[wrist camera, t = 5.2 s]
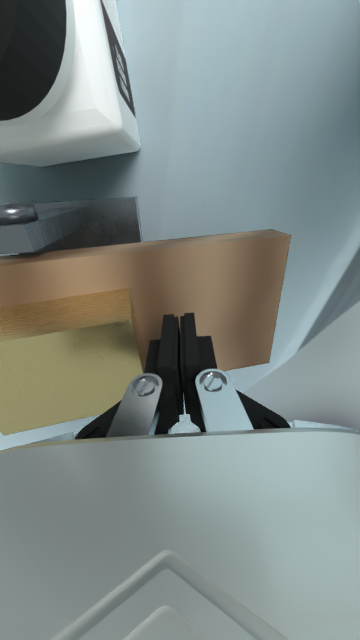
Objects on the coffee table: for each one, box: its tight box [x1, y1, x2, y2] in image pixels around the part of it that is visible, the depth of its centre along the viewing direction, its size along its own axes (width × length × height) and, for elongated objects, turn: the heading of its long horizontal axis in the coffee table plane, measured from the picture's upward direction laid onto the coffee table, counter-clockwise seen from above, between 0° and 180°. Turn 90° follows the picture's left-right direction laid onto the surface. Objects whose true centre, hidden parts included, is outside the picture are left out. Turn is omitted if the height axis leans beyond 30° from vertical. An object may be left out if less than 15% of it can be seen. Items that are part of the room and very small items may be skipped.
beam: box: [0, 229, 291, 371], centre depth 14 cm, size 28×9×2 cm, turn 92°
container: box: [0, 0, 141, 167], centre depth 10 cm, size 8×8×13 cm
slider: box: [0, 287, 146, 435], centre depth 12 cm, size 7×5×4 cm
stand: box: [0, 197, 143, 254], centre depth 18 cm, size 19×14×10 cm
